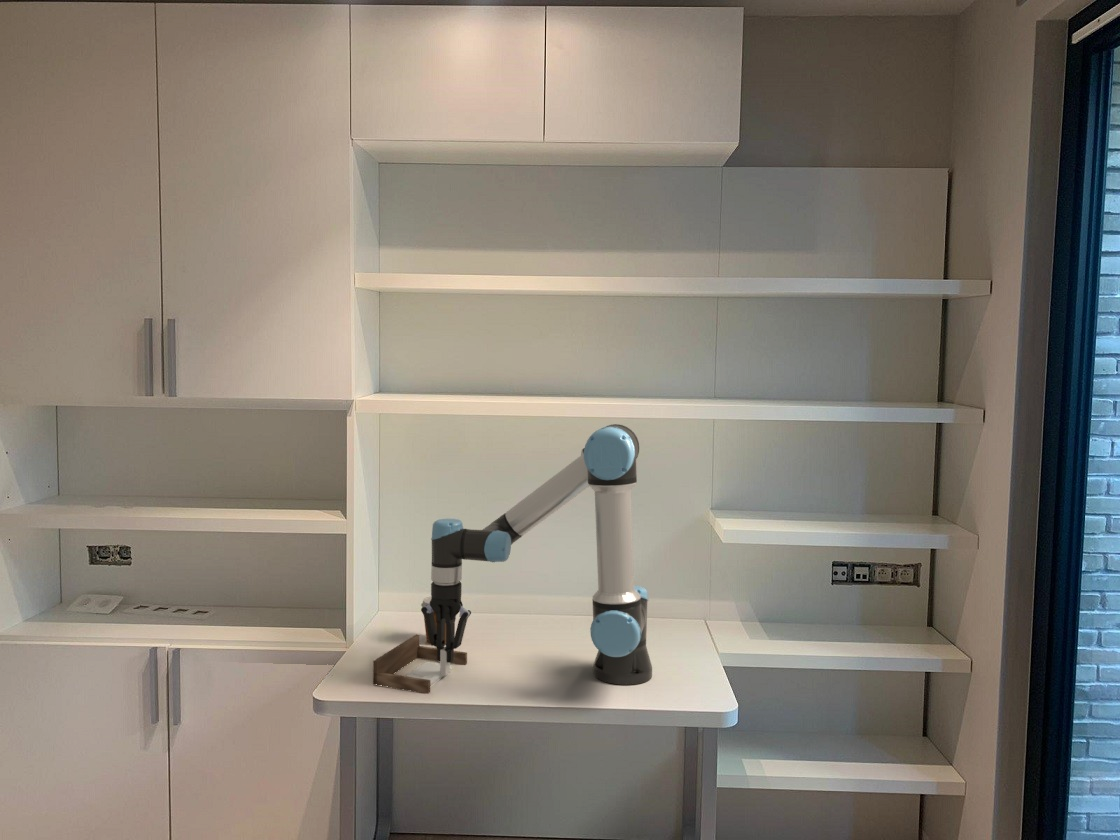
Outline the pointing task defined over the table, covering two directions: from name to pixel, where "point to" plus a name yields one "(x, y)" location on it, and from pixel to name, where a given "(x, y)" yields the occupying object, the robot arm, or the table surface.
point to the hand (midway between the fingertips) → (445, 673)
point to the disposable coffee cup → (427, 602)
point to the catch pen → (400, 658)
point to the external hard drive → (427, 672)
